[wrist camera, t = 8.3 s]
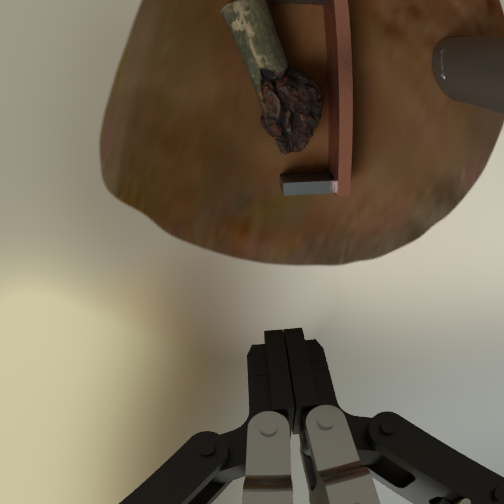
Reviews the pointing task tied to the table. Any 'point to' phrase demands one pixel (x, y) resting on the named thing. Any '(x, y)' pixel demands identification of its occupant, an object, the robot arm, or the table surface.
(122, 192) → the table surface
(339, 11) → the brown pull handle
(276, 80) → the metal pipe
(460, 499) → the robot arm
